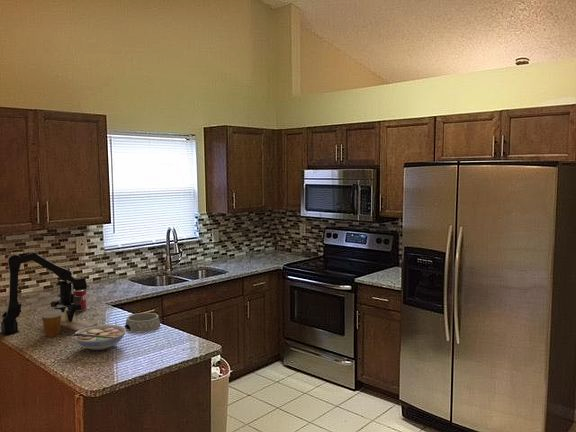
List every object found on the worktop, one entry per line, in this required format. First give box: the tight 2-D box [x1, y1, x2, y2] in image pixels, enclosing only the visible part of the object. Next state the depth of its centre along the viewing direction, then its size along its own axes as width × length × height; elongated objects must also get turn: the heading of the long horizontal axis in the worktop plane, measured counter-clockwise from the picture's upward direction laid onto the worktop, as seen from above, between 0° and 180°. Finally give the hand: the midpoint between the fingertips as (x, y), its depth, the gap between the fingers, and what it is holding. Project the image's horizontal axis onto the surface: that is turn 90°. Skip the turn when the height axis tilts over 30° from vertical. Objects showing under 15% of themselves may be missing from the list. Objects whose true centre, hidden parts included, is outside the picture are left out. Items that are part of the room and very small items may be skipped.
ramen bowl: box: [64, 324, 127, 351], centre depth 227 cm, size 25×23×8 cm
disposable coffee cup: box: [40, 308, 62, 338], centre depth 244 cm, size 10×10×12 cm
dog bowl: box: [124, 312, 161, 332], centre depth 259 cm, size 17×18×5 cm
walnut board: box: [61, 319, 98, 333], centre depth 254 cm, size 12×12×2 cm
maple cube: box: [60, 310, 76, 326], centre depth 262 cm, size 6×6×6 cm
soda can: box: [72, 289, 88, 312], centre depth 288 cm, size 7×7×12 cm
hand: (66, 321), depth 262 cm, fingers closed on maple cube, 6 cm apart
